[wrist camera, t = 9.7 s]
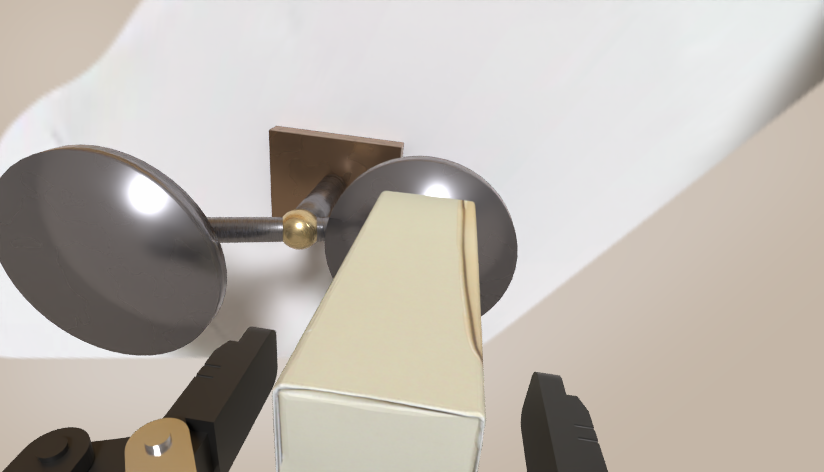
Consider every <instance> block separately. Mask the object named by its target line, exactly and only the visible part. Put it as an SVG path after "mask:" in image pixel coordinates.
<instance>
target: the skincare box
mask: <svg viewBox="0 0 824 472" xmlns="http://www.w3.org/2000/svg"><path fill="white" fill-rule="evenodd" d="M272 403H273V426H274V441H275V459H276V472H478V466H479V460H480V454H481V449H482V444H483V435H484V428H485V421H486V415H485V397H484V372H483V354H482V329H481V308H480V287H479V263H478V244H477V226H476V210H475V203H474V202H472V201H465V200H458V199H451V198H444V197H435V196H427V195H419V194H410V193H401V192H392V191H383V192H382V193H381V194H380V196H379V198H378V199H377V201H376V203H375V205H374V207H373V209H372V210H371V212H370V214H369V216H368V218H367V219H366V221H365V223H364V225H363V227H362V228H361V230H360V232H359V234H358V236H357V237H356V239H355V241H354V243H353V245H352V246H351V248H350V250H349V252H348V254H347V256H346V257H345V259H344V261H343V263H342V265H341V266H340V268H339V270H338V272H337V274H336V276H335V277H334V279H333V281H332V283H331V285H330V286H329V288H328V290H327V292H326V294H325V296H324V297H323V299H322V301H321V303H320V305H319V306H318V308H317V310H316V312H315V314H314V315H313V317H312V319H311V321H310V323H309V324H308V326H307V328H306V330H305V331H304V333H303V335H302V337H301V339H300V340H299V342H298V344H297V346H296V348H295V350H294V352H293V354H292V355H291V357H290V359H289V361H288V363H287V364H286V366H285V368H284V370H283V371H282V373H281V375H280V377H279V379H278V380H277V382H276V384H275V386H274V388H273V392H272Z"/></svg>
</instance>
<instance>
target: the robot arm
mask: <svg viewBox="0 0 824 472" xmlns="http://www.w3.org/2000/svg"><path fill="white" fill-rule="evenodd" d="M276 375H277V342H276V332H275V330H270V329H263V328H257V327H249V328H248V329H247V331H246V332H245V333H244V335H243V336H242V338H241V339H240V340H239V342H236V341H228V342H227V343H225V344H224V345H222V346H221V347H219V348H218V349H216V350H215V351H214V352H213V353H212V355H211V356H210V357H209V359H208V360H207V361H206V363H205V365H204V366H203V367H202V368H201V369H200V370H199V372H198V373H197V376H196V377H194V378H193V380H192V381H191V382H190V384H189V385H188V386H187V388H186V389H185V390H184V391H183V393H182V394H181V395H180V397H179V398H178V399H177V401H176V402H175V403H174V405H173V406H172V407H171V409H170V410H169V411H168V412H167V414H166V415H165V416H164V417H163V418H162V419H158V420H154V421H152V422H149V423H147V424H145V425H144V426H142V427H140V428H139V429H138V430H137V431H135V432H134V434H132V436H131V437H126V438H120V439H112V440H104V441H95V442H91V441H90V437H89V435H88V433H87V432H86V431H84V430H82V429H80V428H73V427H69V428H62V429H57V430H55V431H51V432H49V433H46V434H44V435H42V436H40V437H39V438H37V439H36V440H34V441H33V442H31V443H30V444H29V445H28V446H27V447H26V448H25V449H24V450H23V451H22V452H21V453H20V454H19V455H18V456H17V457H16V458H15V459H14V460H13V461H12V462H11V463H10V464H9V465H8V467H6V468H5V469H4V470H3V472H229V470H230V468H231V466H232V464H233V462H234V460H235V458H236V456H237V455H238V453H239V451H240V449H241V447H242V445H243V443H244V441H245V439H246V437H247V435H248V434H249V432H250V430H251V428H252V426H253V424H254V422H255V420H256V418H257V416H258V414H259V413H260V411H261V409H262V407H263V405H264V403H265V401H266V399H267V397H268V395H269V394H270V392H271V390H272V388H273V385H274V383H275V379H276ZM593 428H594V427H593V424H592V420H591V417H590V414H589V411H588V410H587V409H586V407H585V406H584V405H583V404H582V402H581V401H580V400H579V398H578V397H577V396H572V395H566V392H565V389H564V385H563V381H562V378H561V377H560V376H558V375H553V374H546V373H539V372H534V373H533V375H532V378H531V382H530V385H529V388H528V391H527V395H526V398H525V401H524V405H523V408H522V414H521V431H522V438H523V445H524V453H525V460H526V466H527V472H608V470H607V467H606V464H605V461H604V458H603V455H602V452H601V448H600V445H599V444H598V439H597V436H596V433H595V431H594V429H593Z"/></svg>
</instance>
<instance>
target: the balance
mask: <svg viewBox="0 0 824 472" xmlns="http://www.w3.org/2000/svg"><path fill="white" fill-rule="evenodd" d="M269 146H270V174H271V203H272V217H206V216H205V215H204V213H203V212H202V210H201V209H200V208H199V206H198V205H197V204H196V203H195V202H194V201H193V199H192V198H191V197H190V196H189V195H188V194H187V193H186V192H185V191H184V190H183V189H182V188H181V187H180V186H178V185H177V184H176V183H175V182H174V181H173V180H171V179H170V178H169V177H167V176H166V175H165V174H163V173H162V172H160V171H159V170H158V169H156V168H154V167H152V166H151V165H149V164H147V163H146V162H144V161H142V160H140V159H137V158H135V157H133V156H131V155H129V154H126V153H123V152H120V151H117V150H114V149H110V148H105V147H100V146H94V145H67V146H62V147H58V148H53V149H50V150H46V151H43V152H40V153H36V154H33V155H31V156H29V157H26V158H24V159H21V160H20V161H18V162H17V163H15V164H14V165H12V166H11V167H10V168H9V169H8V170H7V171H6V172H5V173H4V174H3V175H2V176H1V178H0V262H1V264H2V266H3V268H4V270H5V271H6V273H7V275H8V276H9V278H10V279H11V281H12V282H13V284H14V285H15V287H16V288H17V289H18V290H19V291H20V293H21V294H22V295H23V296H24V297H25V298H26V300H27V301H28V302H29V303H30V304H31V305H32V306H33V307H34V308H35V309H36V310H38V311H39V312H40V313H41V314H42V315H43V316H45V317H46V318H47V319H48V320H50V321H51V322H52V323H54V324H55V325H57V326H58V327H59V328H61V329H63V330H64V331H66V332H67V333H69V334H71V335H72V336H74V337H76V338H78V339H80V340H82V341H84V342H87V343H89V344H92V345H94V346H97V347H99V348H103V349H106V350H109V351H113V352H118V353H122V354H129V355H157V354H164V353H167V352H171V351H174V350H177V349H179V348H182V347H184V346H185V345H187V344H189V343H190V342H192V341H193V340H194V339H195V338H197V337H198V336H199V335H200V334H201V333H202V332H203V330H204V329H205V328H206V327H207V326H208V325H209V323H210V322H211V321H212V320H213V318H214V317H215V316H216V314H217V313H218V311H219V309H220V307H221V305H222V302H223V299H224V296H225V292H226V285H227V270H226V264H225V258H224V254H223V251H222V248H221V244H220V243H238V242H284V243H285V244H286V245H287V246H289V247H291V248H293V249H306V248H309V247H311V246H312V245H313V244H314V243H315V242H316V241H325V254H326V259H327V264H328V267H329V270H330V273H331V275H332V277H333V279H334V277H335V276H336V274H337V272H338V270H339V268H340V266H341V265H342V263H343V261H344V259H345V257H346V256H347V254H348V252H349V250H350V248H351V246H352V245H353V243H354V241H355V239H356V237H357V236H358V234H359V232H360V230H361V228H362V227H363V225H364V223H365V221H366V219H367V218H368V216H369V214H370V212H371V210H372V209H373V207H374V205H375V203H376V201H377V199H378V198H379V196H380V194H381V193H382V192H383V191H392V192H401V193H410V194H419V195H427V196H435V197H444V198H451V199H458V200H465V201H472V202H474V203H475V210H476V226H477V244H478V263H479V287H480V308H481V316H482V315H484V314H485V313H486V312H487V311H489V310H490V309H491V308H492V307H493V306H494V305H495V304H496V303H497V302H498V301H499V300H500V299H501V297H502V296H503V294H504V293H505V291H506V290H507V288H508V286H509V284H510V282H511V280H512V277H513V274H514V271H515V268H516V262H517V239H516V233H515V229H514V226H513V222H512V219H511V216H510V213H509V211H508V209H507V207H506V205H505V203H504V202H503V200H502V199H501V197H500V195H499V194H498V193H497V192H496V191H495V189H494V188H493V187H492V186H491V185H490V184H489V183H488V182H487V181H485V180H484V179H483V178H482V177H481V176H479V175H478V174H476V173H475V172H473V171H472V170H470V169H468V168H466V167H464V166H462V165H460V164H458V163H455V162H452V161H449V160H446V159H441V158H436V157H429V156H408V157H403V147H404V143H403V142H395V141H387V140H380V139H372V138H364V137H357V136H349V135H342V134H334V133H326V132H319V131H311V130H304V129H296V128H288V127H281V126H275V127H274V128H272V129H270V130H269Z"/></svg>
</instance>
